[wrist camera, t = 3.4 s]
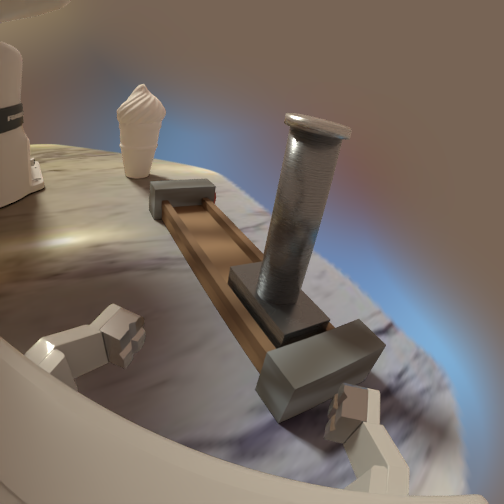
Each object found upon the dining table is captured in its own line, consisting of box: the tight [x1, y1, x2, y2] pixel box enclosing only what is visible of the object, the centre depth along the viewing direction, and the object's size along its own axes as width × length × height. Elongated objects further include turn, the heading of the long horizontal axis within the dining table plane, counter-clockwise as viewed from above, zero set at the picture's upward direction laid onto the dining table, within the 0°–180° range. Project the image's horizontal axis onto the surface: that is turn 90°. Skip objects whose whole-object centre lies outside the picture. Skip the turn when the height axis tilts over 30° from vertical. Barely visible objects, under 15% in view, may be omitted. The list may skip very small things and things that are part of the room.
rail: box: [149, 179, 386, 423], centre depth 30 cm, size 32×8×4 cm, turn 29°
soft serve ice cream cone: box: [117, 84, 166, 179], centre depth 48 cm, size 8×8×16 cm
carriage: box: [228, 113, 352, 349], centre depth 21 cm, size 8×4×15 cm, turn 29°
